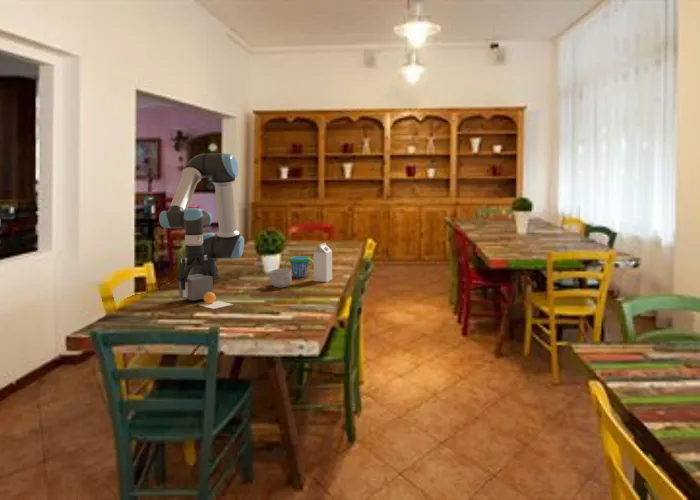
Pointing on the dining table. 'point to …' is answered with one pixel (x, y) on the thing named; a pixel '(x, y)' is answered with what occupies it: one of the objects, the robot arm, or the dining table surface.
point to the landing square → (216, 304)
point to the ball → (209, 297)
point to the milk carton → (323, 263)
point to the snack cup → (299, 265)
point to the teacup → (280, 277)
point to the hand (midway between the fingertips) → (196, 294)
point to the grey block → (197, 286)
